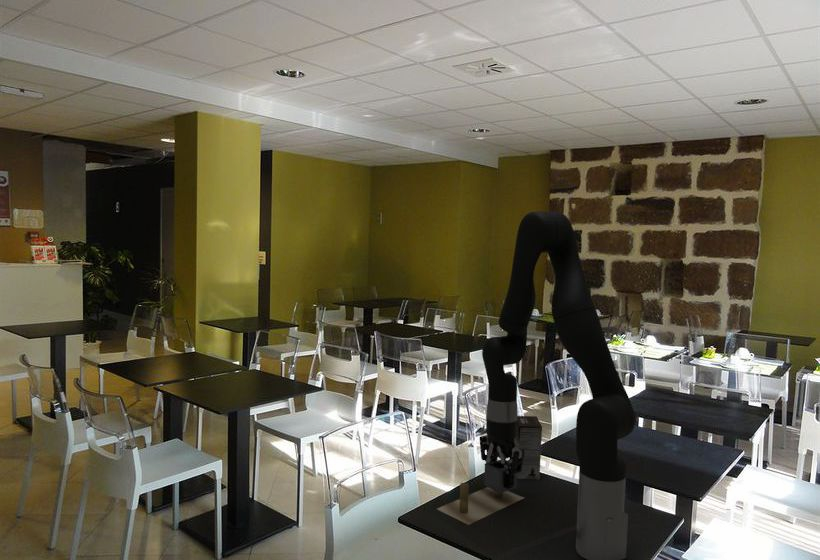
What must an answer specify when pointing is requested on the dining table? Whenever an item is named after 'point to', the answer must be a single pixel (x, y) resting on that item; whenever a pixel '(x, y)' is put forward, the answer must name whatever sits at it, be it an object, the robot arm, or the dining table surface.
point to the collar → (497, 476)
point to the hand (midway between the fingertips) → (500, 483)
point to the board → (478, 504)
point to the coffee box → (529, 446)
